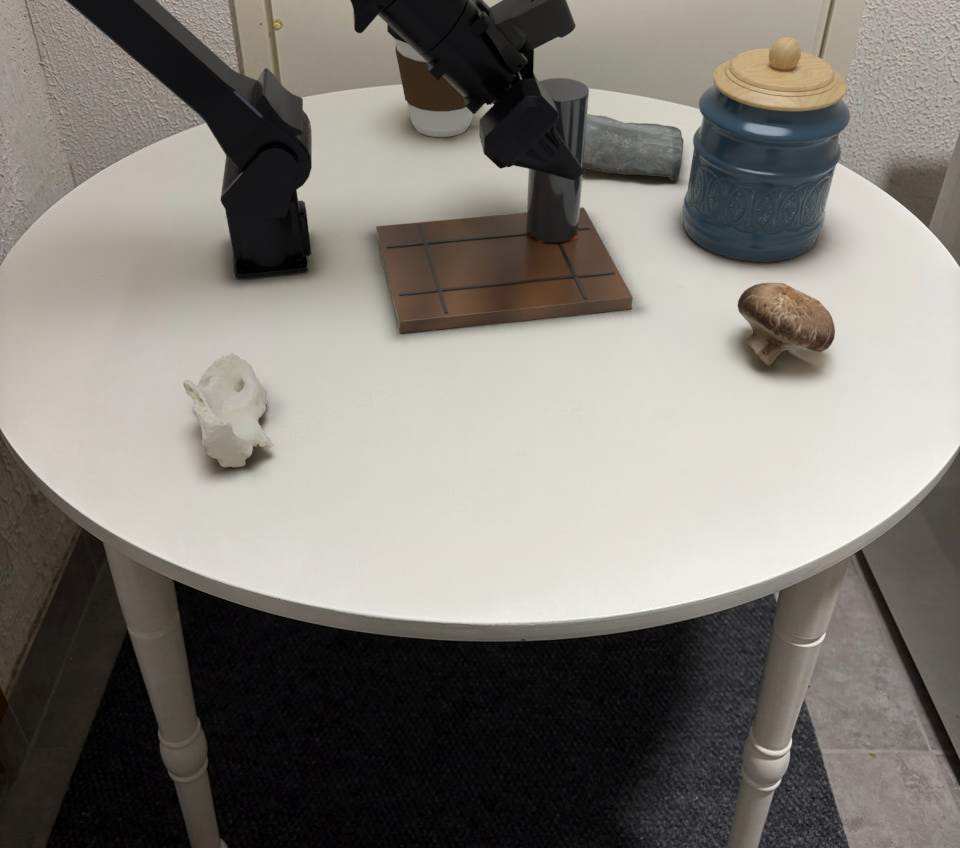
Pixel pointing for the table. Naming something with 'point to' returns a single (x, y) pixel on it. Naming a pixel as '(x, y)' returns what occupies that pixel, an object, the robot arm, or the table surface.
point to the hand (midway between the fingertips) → (570, 151)
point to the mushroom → (784, 320)
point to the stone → (632, 147)
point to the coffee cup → (429, 95)
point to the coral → (229, 410)
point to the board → (495, 273)
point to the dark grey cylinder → (555, 196)
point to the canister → (765, 154)
